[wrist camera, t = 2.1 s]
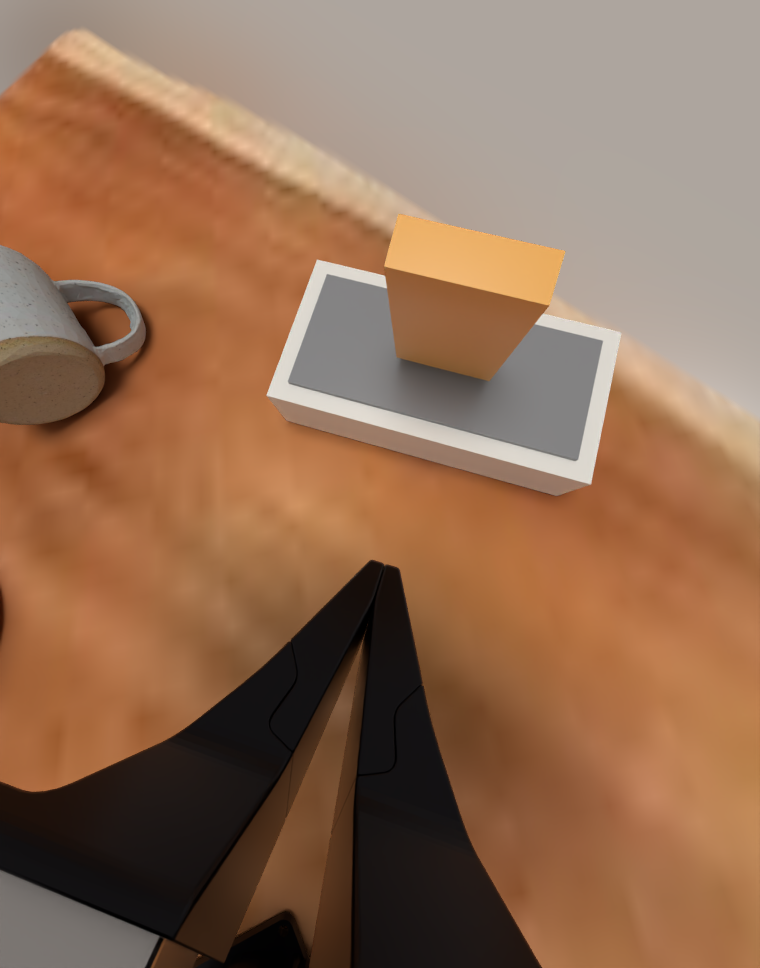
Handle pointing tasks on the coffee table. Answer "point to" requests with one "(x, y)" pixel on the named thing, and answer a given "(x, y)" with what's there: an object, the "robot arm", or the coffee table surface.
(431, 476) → the coffee table surface
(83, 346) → the ceramic mug
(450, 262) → the lever
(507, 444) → the breaker housing
